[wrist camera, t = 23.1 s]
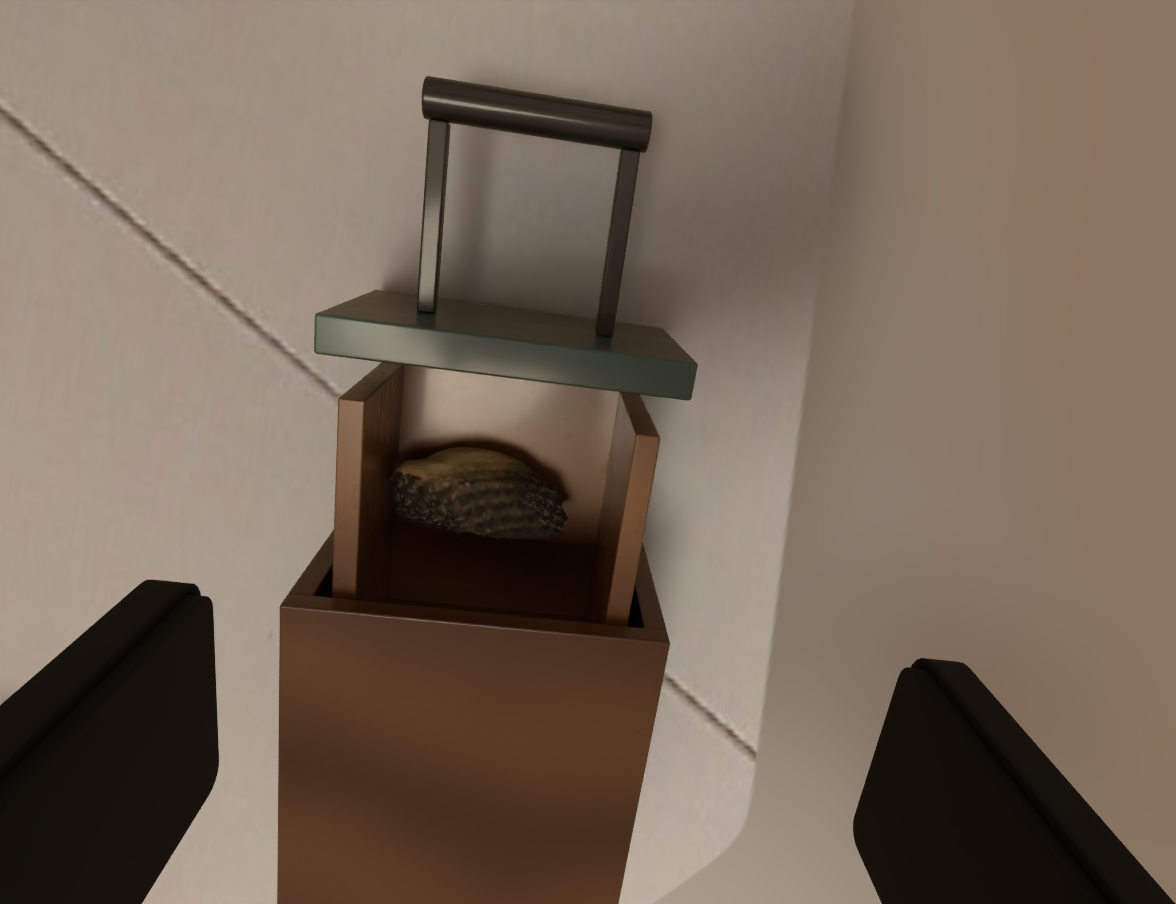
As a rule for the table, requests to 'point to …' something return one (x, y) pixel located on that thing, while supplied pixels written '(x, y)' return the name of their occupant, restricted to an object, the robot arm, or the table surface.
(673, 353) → the drawer
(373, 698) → the cabinet
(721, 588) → the table surface
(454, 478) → the brazil nut
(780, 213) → the table surface
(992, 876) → the robot arm
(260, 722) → the table surface
